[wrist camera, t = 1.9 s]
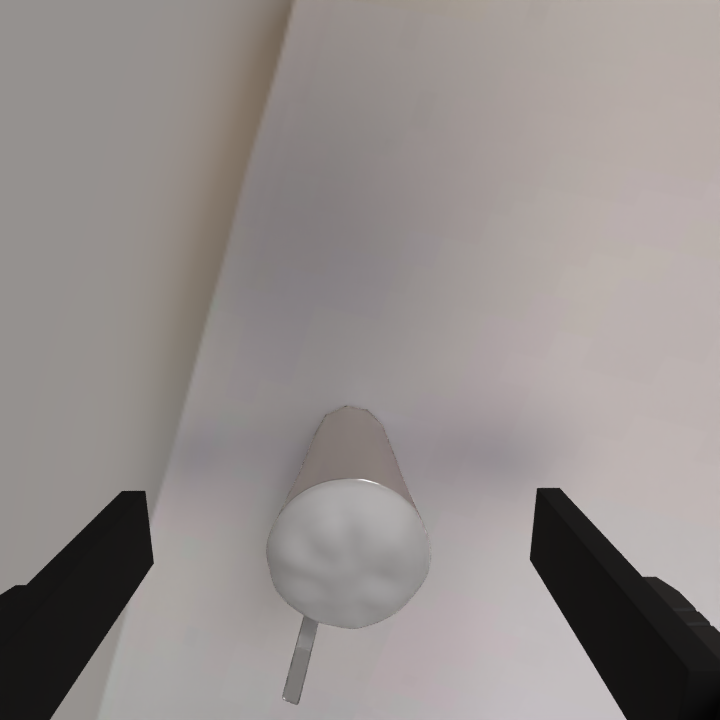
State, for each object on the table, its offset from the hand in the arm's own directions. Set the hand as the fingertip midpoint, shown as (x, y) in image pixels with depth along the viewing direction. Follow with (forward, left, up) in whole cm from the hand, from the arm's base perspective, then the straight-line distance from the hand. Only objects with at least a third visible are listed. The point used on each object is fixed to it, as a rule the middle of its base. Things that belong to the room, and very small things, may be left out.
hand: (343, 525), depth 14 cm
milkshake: (0, 0, -6) cm, 6 cm away
